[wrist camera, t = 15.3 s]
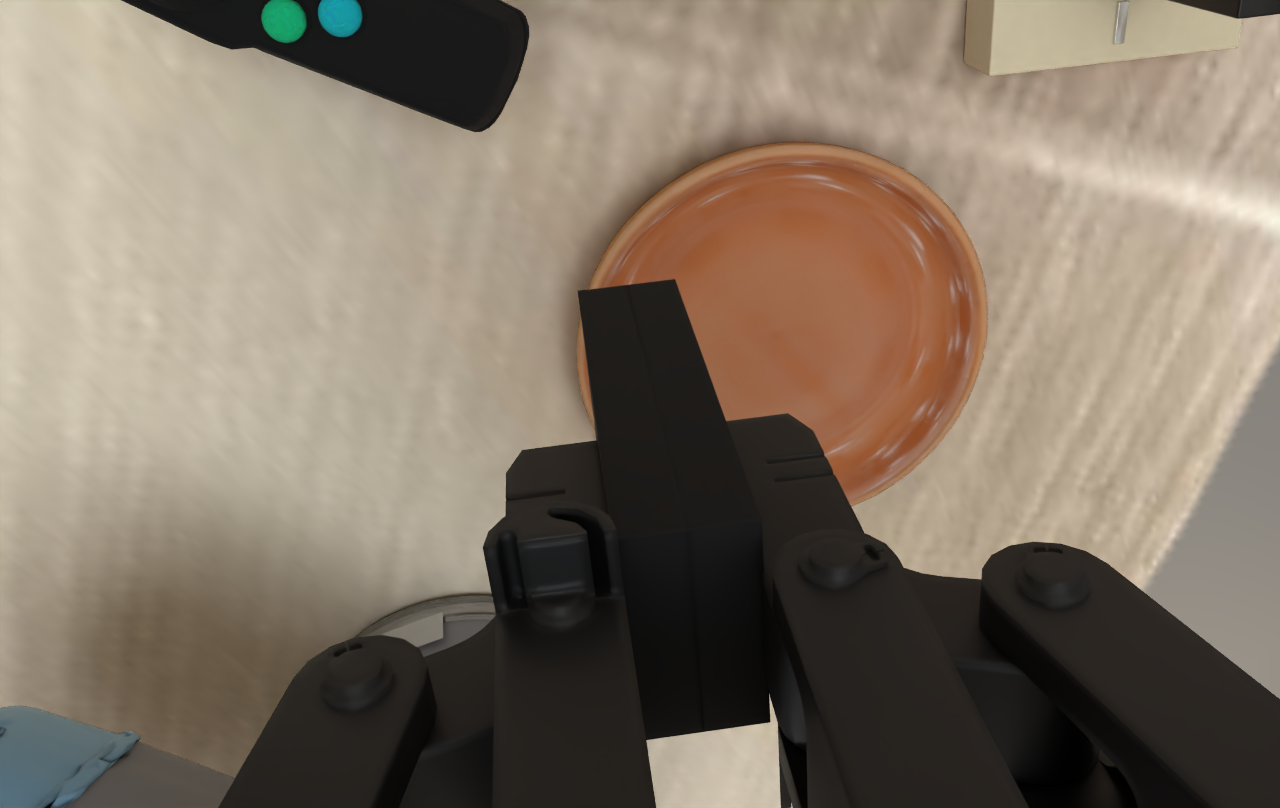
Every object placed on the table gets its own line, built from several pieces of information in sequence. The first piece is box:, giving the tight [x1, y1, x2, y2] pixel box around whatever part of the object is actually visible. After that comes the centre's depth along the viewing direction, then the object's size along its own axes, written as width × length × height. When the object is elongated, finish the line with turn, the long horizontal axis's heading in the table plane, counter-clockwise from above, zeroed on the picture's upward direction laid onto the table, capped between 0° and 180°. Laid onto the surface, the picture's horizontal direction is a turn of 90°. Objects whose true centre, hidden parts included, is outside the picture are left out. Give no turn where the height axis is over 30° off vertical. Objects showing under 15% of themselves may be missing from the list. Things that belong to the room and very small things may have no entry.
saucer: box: [577, 142, 988, 507], centre depth 43 cm, size 16×16×3 cm
